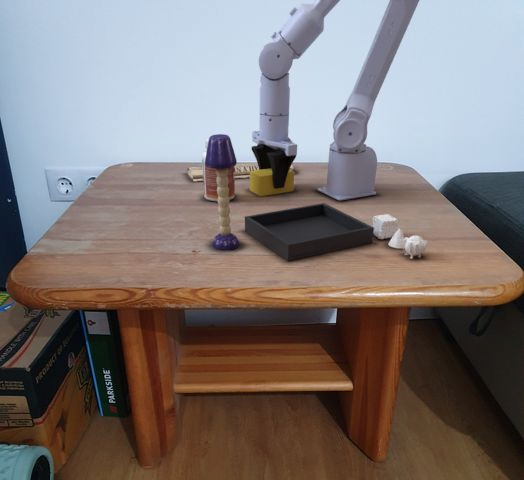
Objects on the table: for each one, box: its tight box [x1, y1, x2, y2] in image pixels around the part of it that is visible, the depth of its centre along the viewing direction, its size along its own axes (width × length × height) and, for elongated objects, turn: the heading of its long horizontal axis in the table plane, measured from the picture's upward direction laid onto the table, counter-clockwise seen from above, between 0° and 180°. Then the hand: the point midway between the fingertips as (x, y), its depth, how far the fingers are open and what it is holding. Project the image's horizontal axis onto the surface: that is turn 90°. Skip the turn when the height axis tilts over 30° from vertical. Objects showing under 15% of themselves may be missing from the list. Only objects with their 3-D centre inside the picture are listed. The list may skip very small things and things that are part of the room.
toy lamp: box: [205, 133, 240, 251], centre depth 81 cm, size 5×5×17 cm
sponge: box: [249, 168, 295, 197], centre depth 109 cm, size 8×4×4 cm, turn 119°
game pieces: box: [371, 213, 428, 259], centre depth 85 cm, size 12×3×3 cm, turn 21°
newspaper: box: [186, 162, 296, 182], centre depth 121 cm, size 24×7×2 cm, turn 108°
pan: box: [244, 202, 374, 262], centre depth 88 cm, size 16×14×3 cm
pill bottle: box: [201, 137, 236, 203], centre depth 103 cm, size 6×6×11 cm
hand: (272, 184), depth 110 cm, fingers closed on sponge, 4 cm apart
